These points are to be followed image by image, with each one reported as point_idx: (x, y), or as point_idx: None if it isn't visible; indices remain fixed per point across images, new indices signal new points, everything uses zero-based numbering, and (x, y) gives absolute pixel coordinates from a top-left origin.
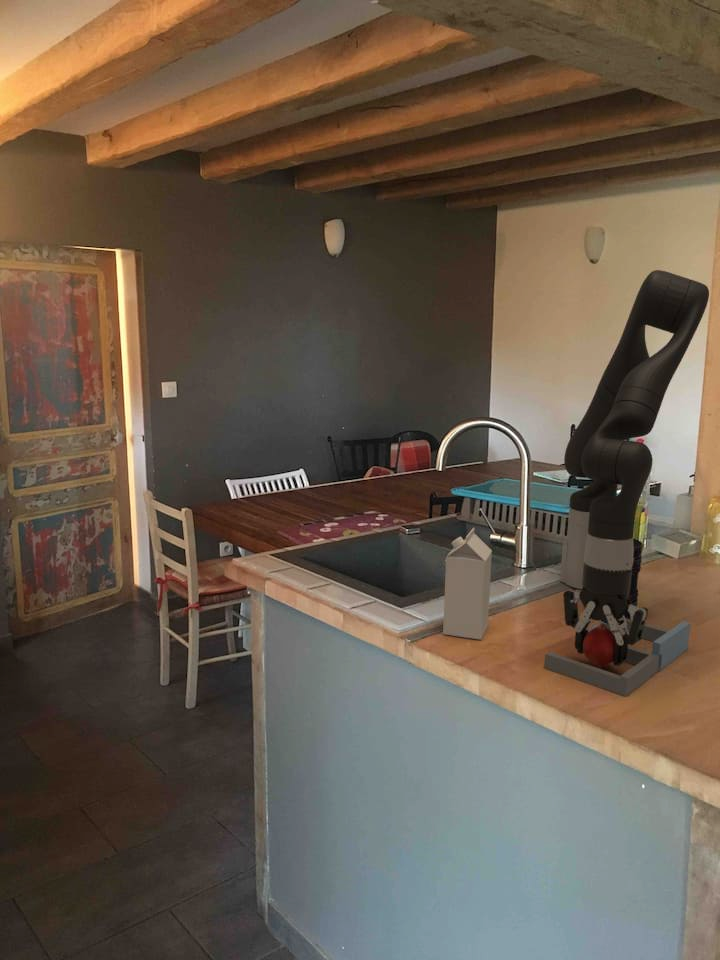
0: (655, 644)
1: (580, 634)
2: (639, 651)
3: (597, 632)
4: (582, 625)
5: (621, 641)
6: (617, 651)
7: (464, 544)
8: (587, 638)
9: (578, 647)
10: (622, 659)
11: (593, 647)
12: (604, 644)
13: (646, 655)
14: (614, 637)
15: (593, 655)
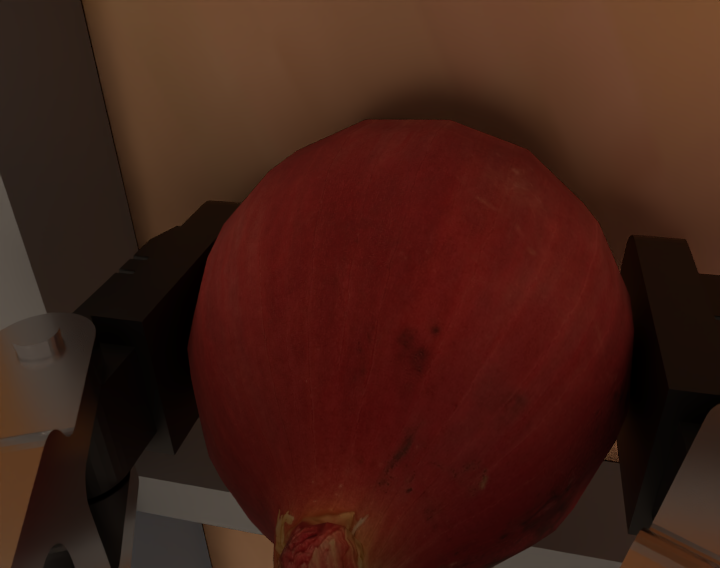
0: None
1: (698, 381)
2: (216, 499)
3: (372, 415)
4: (704, 506)
5: (12, 347)
6: (146, 270)
7: None
8: (534, 297)
9: (678, 264)
10: (145, 245)
11: (392, 172)
12: (244, 255)
13: (160, 472)
14: (210, 454)
15: (401, 123)
